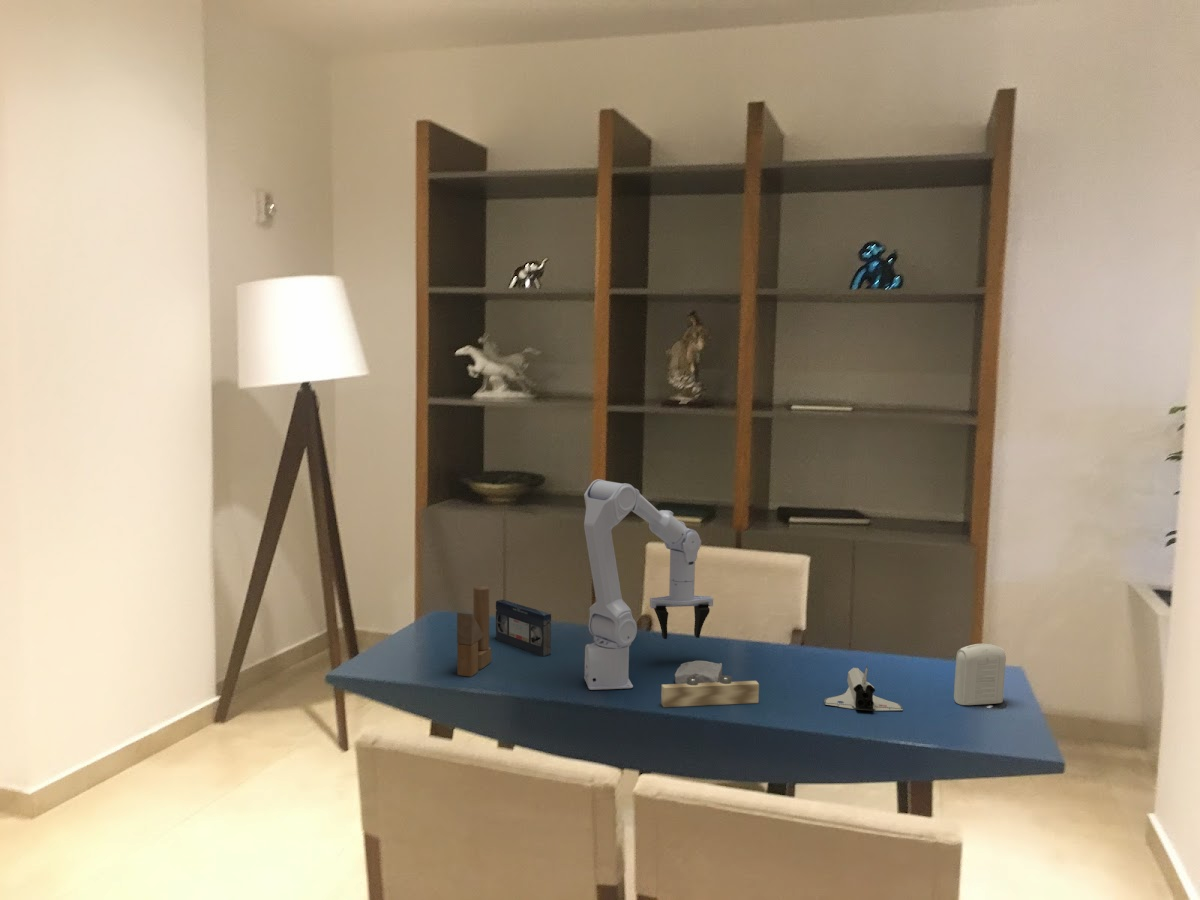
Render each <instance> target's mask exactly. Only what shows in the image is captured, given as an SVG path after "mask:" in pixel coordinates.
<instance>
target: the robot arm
mask: <svg viewBox="0 0 1200 900" xmlns="http://www.w3.org/2000/svg"><path fill="white" fill-rule="evenodd" d="M583 498H584V503H585V504H584V505H585V515H584V522H583V528H584V534H585V541H586V547H587V551H588V552H587V553H588V559H589V566H590V570H591V571H590V572H591V578H592V584H593V590H594V595H595V602H594V603H593V604H592V605H591V606H590V607H589V609H588V610H589V619H588V631H589V632H590V634H591V635H592V636H593V642H592V643H587V644H585V648H584V677H583V678H584V679H583V680H584V681H585V682H586V685H587V686H586V687H587V688H588V690H591V691H594V690H596V691H597V690H618V689H619V690H623V689H632V688H633V687H634V685H633V684H632V682H631V680H630V678H629V671H630V670H629V667H630V666H629V665H630V664H629V661H630V646H632V642H634V640H635V638H636V636H637V633H638V624H637V622H636V620H635V619H634V618H633V615H632V610H631V608H630V607H629V605H627V603H626V602H625V601H624V600H623V598H622V597H623V596H622V591H621V585H620V579H619V578H620V577H619V572H618V565H617V560H616V559H617V558H616V553H615V547H614V540H613V534H612V533H613V532H612V530H613V528H614V527H615V526H618V524H619V523H620V522H621V521H623V519H624V518H626V516H627V515H629V514H630V512H633V514H636V515H637V516H638V517H640V518H641V519H643V520H644V521H645V522H647V523H648V528H649V531H651V532H652V534H654V535H655V536H657V538H659V539H660V540H661V541H663V542H664V546H665V548H666V549H667V550H669V554H670V555H669V585H668V587H669V588H668V590H669V591H668V593H669V595H665V596H659V597H649V607H650V608H651V609H653V611H654V612H655V614H656V617H657V619H658V622H659V626H660V631H661V638H662V639H664V640H667V639H668V620H669V612H668V609H667V608H673V607H675V608H678V607H680V608H681V607H694V608H693V610H694V628H693V629H694V630H693V633H694V634H693V635H694V637H695V638H696V639H699V638H700V637H701V632H702V629H703V625H704V623H705V621H706V619H707V617H708V615H709V613H710V610H711V609H710V607H714V598H713V596H711V595H695V583H696V582H695V578H696V577H695V575H696V574H695V572H696V562H697V559H698V554H699V553H698V552H699V551H700V547H702V546H701V545H702V539H701V538H700V535H699V533H698V531H696V530H695V529H692V528H688V527H687V525H686V523H685V522H684V521H681V520H679V519H677V518H676V517H675V516H674V512H673V511H671V510H668V509H665V510H664V509H661V510H658V508H656V506H654V505H653V504H652V503H651V502H650V501H648V500H647V499H646V498H645V496H643V495H642V494H641V493H640V490H639V489H637V488H635V487H634V486H633V485H632V484H630V483H625V482H624V483H620V482H615V481H609V480H605V479H602V478H601V479H600V478H598V479H595V480H593V481H592V482H591V483H590V484H589V485H588V488H587V489H586V490H585V493H584V494H583Z"/></svg>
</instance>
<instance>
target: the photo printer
mask: <svg viewBox="0 0 1200 900" xmlns="http://www.w3.org/2000/svg"><path fill="white" fill-rule="evenodd" d="M1006 656H1007V655H1006V652H1005V650H1004V649H1003V648H1002V647H1000V646H998V645H995V644H990V643H975V644H970V645H967V646H963V647H961V648H958V650H957V653H956V658H955V670H954V673H955V674H954V685H953V686H954V687H953V699H954V702H955V703H956V704H958V705H959V706H975V705H976V706H977V705H979V706H980V705H993V704H1002V703H1003V700H1004V690H1005V678H1006V677H1005V676H1006V663H1007V662H1006V661H1007V659H1006V658H1007V657H1006Z"/></svg>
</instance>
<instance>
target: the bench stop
mask: <svg viewBox="0 0 1200 900" xmlns="http://www.w3.org/2000/svg"><path fill="white" fill-rule="evenodd" d="M759 692H760V684H759V682H758V681H757V680H742V681H732V676H730V675H728V674H727V675H726V674H722V676H720V682H713V683H699V679H698V678H697V677H687V684H676V683H668V684H664V683H663V684H661V693H660V695H661V696H660V697H661V699H660V700H661V701H660V702H661V703H660V704H661V706H662V707H663V708H673V707H674V708H676V707H677V708H678V707H693V706H694V707H696V706H697V707H698V706H719V705H740V704H742V705H743V704H744V705H745V704H759V696H760V695H759V694H760V693H759Z"/></svg>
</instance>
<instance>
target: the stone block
mask: <svg viewBox="0 0 1200 900" xmlns="http://www.w3.org/2000/svg"><path fill="white" fill-rule="evenodd" d="M722 675H723V663H721V662H720V663H716V662H712V661H707V660H694V661H693V660H692V661H687V662H684V663H681V664H680V666H679V667H677V669H676V672H675V673H674V682H675V683H674V684H687V677H697V678H698V679H699V683H713V682H720V676H722Z"/></svg>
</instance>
